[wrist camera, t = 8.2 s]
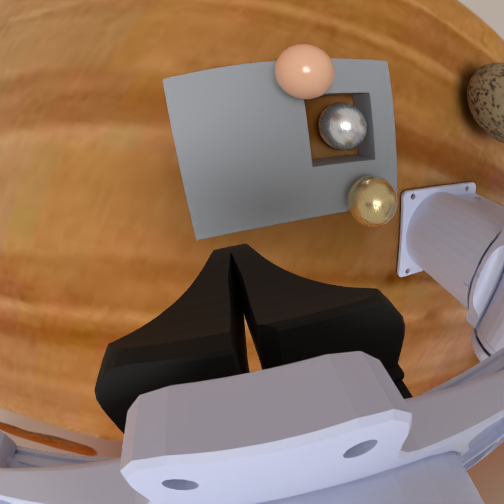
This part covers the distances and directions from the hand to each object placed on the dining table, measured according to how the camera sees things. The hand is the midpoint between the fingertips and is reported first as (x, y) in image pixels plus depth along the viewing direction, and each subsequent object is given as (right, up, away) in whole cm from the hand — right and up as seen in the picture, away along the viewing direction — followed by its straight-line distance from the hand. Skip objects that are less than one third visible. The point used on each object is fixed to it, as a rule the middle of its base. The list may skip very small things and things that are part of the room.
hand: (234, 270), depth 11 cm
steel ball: (+7, +9, +6) cm, 13 cm away
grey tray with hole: (+3, +8, +8) cm, 12 cm away
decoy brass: (+8, +4, +6) cm, 11 cm away
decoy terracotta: (+3, +10, +2) cm, 11 cm away
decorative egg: (+21, +15, +8) cm, 27 cm away
